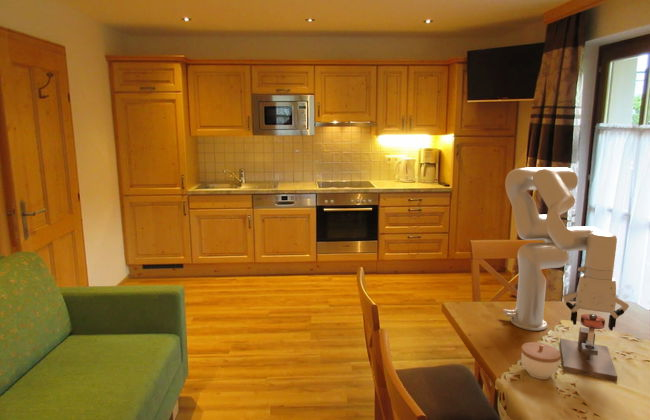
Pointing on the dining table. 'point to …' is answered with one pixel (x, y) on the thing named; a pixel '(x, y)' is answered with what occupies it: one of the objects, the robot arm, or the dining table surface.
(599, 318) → the orange knobbed disc
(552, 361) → the lidded jar
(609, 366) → the eye stand
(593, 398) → the dining table surface
